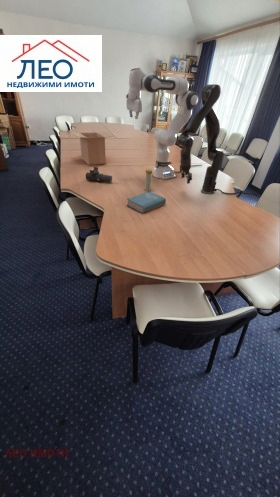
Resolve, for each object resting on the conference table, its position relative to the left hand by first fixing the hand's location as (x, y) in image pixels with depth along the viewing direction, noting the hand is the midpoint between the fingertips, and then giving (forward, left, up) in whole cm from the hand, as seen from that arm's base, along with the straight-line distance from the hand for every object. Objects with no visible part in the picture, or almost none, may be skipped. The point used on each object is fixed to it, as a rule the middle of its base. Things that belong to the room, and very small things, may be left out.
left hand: (133, 118), depth 170 cm
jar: (-2, +27, -48) cm, 55 cm away
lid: (-2, +27, -32) cm, 42 cm away
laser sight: (+29, -4, -48) cm, 56 cm away
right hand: (-28, +42, -37) cm, 62 cm away
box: (+16, -63, -48) cm, 81 cm away
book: (+12, +52, -48) cm, 72 cm away
